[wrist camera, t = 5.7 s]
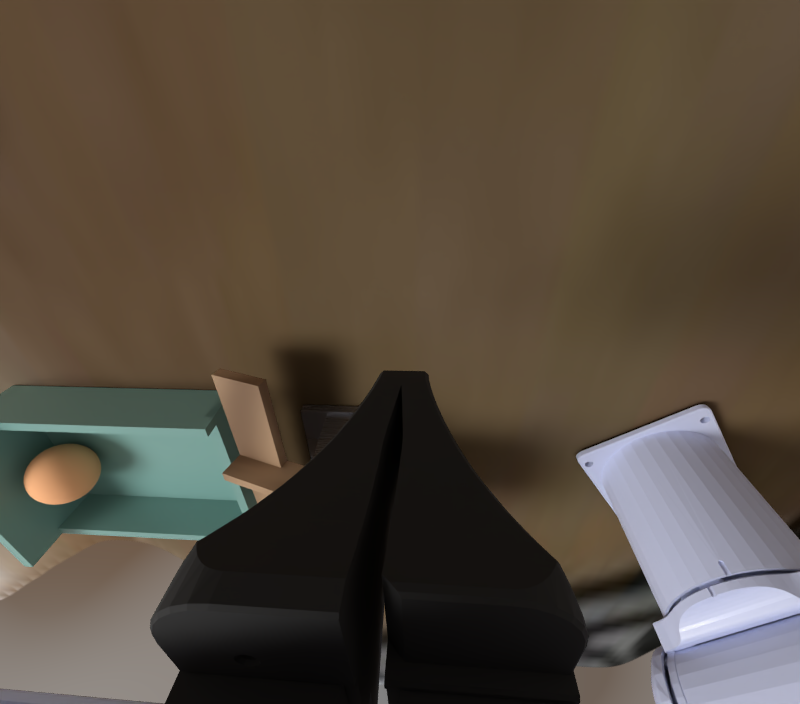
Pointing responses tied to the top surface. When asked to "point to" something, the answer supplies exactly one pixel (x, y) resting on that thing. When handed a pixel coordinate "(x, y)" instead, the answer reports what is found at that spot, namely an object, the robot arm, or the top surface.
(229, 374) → the chute
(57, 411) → the tray
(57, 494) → the ball
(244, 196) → the top surface
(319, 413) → the launcher stand
